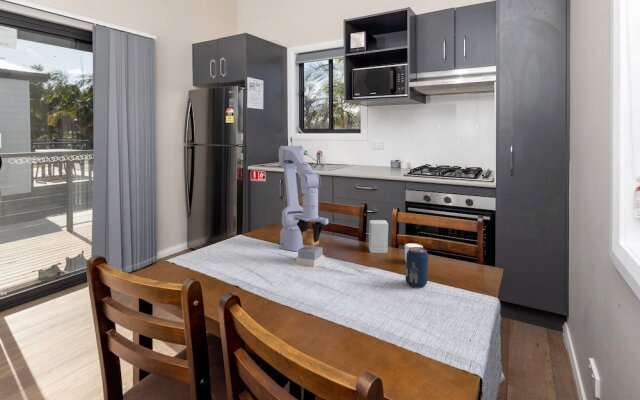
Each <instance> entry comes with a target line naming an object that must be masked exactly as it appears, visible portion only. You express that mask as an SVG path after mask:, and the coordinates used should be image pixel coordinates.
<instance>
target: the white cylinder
mask: <svg viewBox="0 0 640 400" xmlns="http://www.w3.org/2000/svg"><path fill="white" fill-rule="evenodd" d="M411 247H421V248H424V246H423V245H422V244H420V243H415V242H414V243H412V242H411V243H410V242H409V243H405V244H404V260H405V264H406V258H407V252H408V251H409V248H411Z"/></svg>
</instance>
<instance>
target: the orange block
mask: <svg viewBox="0 0 640 400" xmlns="http://www.w3.org/2000/svg"><path fill="white" fill-rule="evenodd" d="M319 244H320V239H319V240H318V241H317V242H314V232H313V229H308V230H306V231H304V232H303V245H304V246H306V245H308V246H317V245H319Z"/></svg>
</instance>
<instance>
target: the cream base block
mask: <svg viewBox="0 0 640 400" xmlns="http://www.w3.org/2000/svg"><path fill="white" fill-rule="evenodd" d="M325 260H326V259H325V255H324V254H323V255H321V256H320V257H318V258H317V259H315V260H312V259H305V258H299V257H298V256H296V257H295V264H296V265H301V266H307V267H311V268H316V267H317V266H318V265H320V264H323V263H324V262H325Z"/></svg>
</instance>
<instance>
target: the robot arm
mask: <svg viewBox="0 0 640 400" xmlns="http://www.w3.org/2000/svg"><path fill="white" fill-rule="evenodd" d="M279 146H280V147H279V148H278V162H279V163H278V164H279V166H280V167H282V169H283V173H284V182H285V191H286V192H285V193H286V200H287V201H286V202H287V206H285V208H284V209H283V210H282V212H281V224H282V228H281V229H280V232H279V242H280V243H279V247H278V248H279V249H281V250H286V251H287V250H289V251H292V252H298V250H299V249H300V248H302V247H304V246H305V245H303V232H304V231H306V230H309V225H310V222H311V223H312V224H311V226H312V230H313V232H314V242H317V241H318V240H319V241H320V236H321V233H322V230H323V229H324V226H325V225H328V224H329V218H327V217H322V216H319V189H320V187H321V185H322V184H321V183H322V179H321V175H320V174H319V172H314V170H313V168H312V167H311V165H310V163H308V162H306V161H305V159H304V158H305V149H304V146H302V145H279ZM297 175H298V177H299V178H300V187H301V194H302V206H301V205H300V204H299V203H300V202H299V193H298V183H297Z"/></svg>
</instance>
